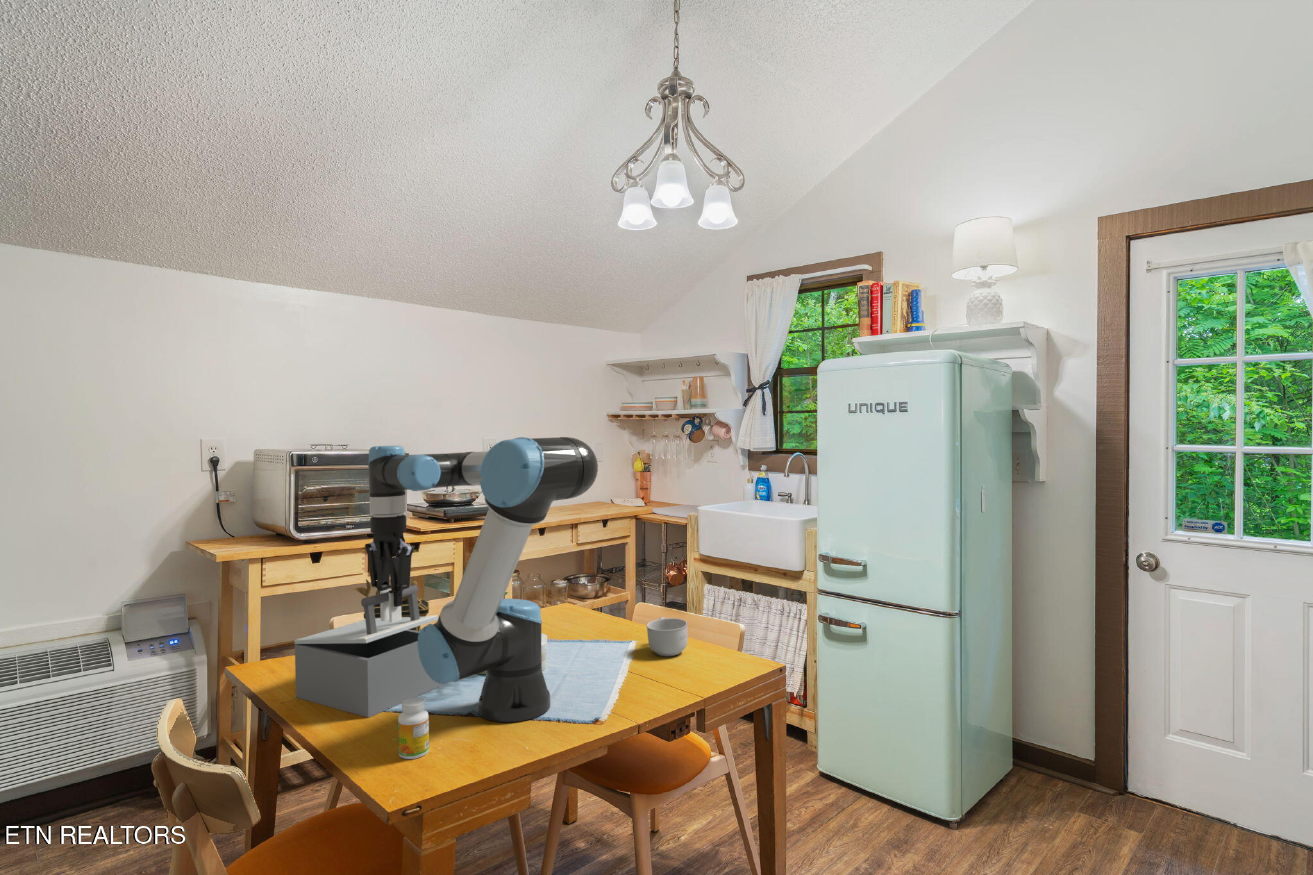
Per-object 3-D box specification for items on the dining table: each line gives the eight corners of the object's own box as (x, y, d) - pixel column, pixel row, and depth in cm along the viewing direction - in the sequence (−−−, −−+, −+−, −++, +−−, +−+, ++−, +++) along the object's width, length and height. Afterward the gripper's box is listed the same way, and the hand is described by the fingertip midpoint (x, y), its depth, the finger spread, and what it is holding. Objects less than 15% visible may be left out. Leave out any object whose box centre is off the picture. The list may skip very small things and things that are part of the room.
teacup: (688, 659, 184) (688, 628, 183) (646, 659, 184) (646, 628, 184) (686, 642, 197) (686, 614, 197) (647, 643, 198) (647, 614, 197)
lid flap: (438, 619, 166) (433, 581, 167) (366, 643, 149) (361, 600, 149) (369, 621, 178) (365, 586, 178) (294, 643, 160) (290, 604, 161)
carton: (440, 686, 166) (439, 635, 166) (368, 717, 149) (367, 660, 149) (370, 669, 178) (369, 622, 178) (295, 697, 160) (294, 644, 160)
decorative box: (429, 636, 206) (428, 568, 206) (429, 645, 197) (428, 574, 197) (354, 643, 200) (353, 573, 200) (350, 653, 191) (349, 580, 191)
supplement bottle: (393, 753, 133) (392, 701, 132) (420, 743, 136) (419, 693, 136) (406, 762, 129) (405, 709, 129) (434, 752, 133) (433, 701, 132)
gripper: (425, 514, 159) (428, 619, 159) (378, 511, 166) (381, 612, 166) (398, 518, 152) (401, 628, 152) (351, 515, 159) (354, 620, 160)
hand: (391, 619), depth 159 cm, fingers open, 2 cm apart
